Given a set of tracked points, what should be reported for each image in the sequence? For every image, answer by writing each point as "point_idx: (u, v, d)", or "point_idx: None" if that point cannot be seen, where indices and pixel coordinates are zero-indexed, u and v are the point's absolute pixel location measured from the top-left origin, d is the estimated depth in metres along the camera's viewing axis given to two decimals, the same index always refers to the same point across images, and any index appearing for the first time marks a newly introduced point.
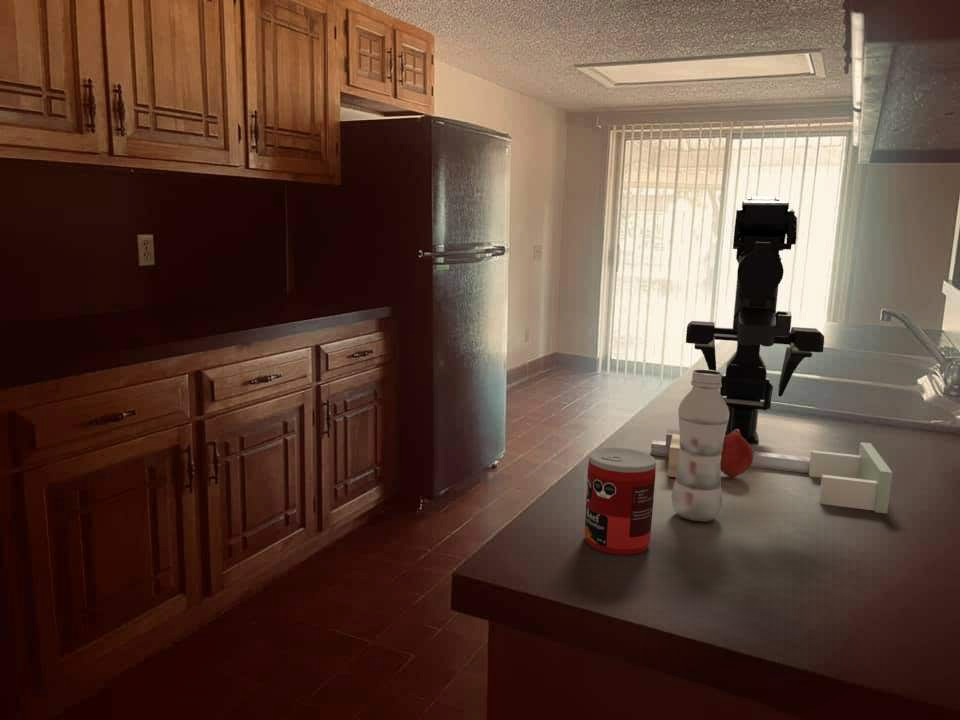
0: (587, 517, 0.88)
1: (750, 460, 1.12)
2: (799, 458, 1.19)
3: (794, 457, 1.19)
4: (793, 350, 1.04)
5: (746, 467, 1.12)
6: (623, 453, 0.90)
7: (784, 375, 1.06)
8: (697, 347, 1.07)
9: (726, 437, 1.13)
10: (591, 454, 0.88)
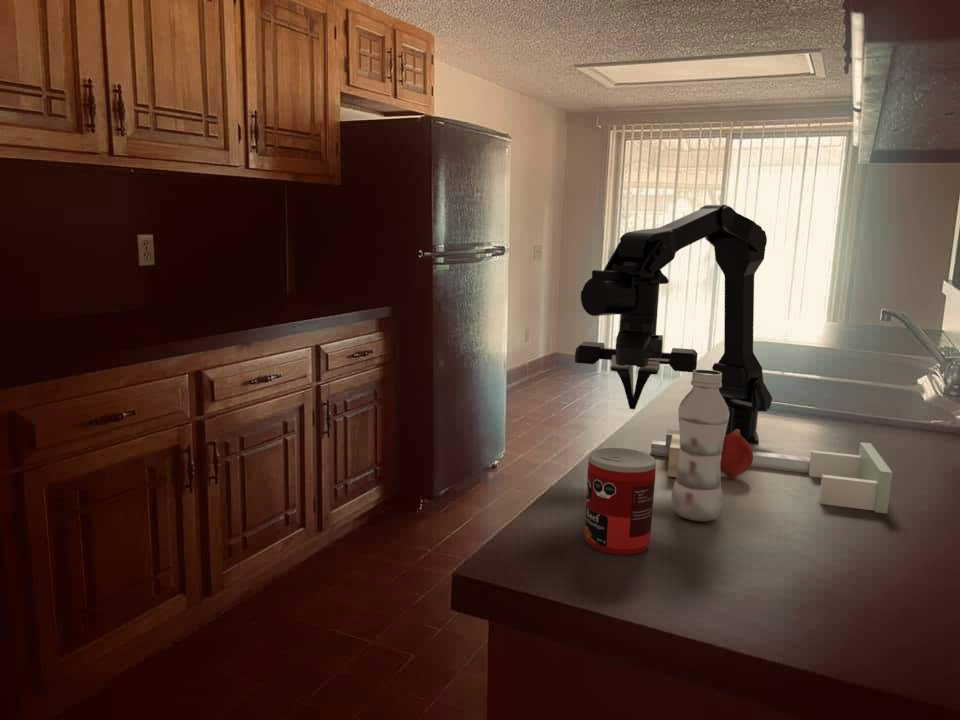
0: (587, 517, 0.88)
1: (750, 460, 1.12)
2: (799, 458, 1.19)
3: (794, 457, 1.19)
4: (642, 367, 1.15)
5: (746, 467, 1.12)
6: (623, 453, 0.90)
7: (635, 390, 1.16)
8: (612, 369, 1.15)
9: (726, 437, 1.13)
10: (591, 454, 0.88)
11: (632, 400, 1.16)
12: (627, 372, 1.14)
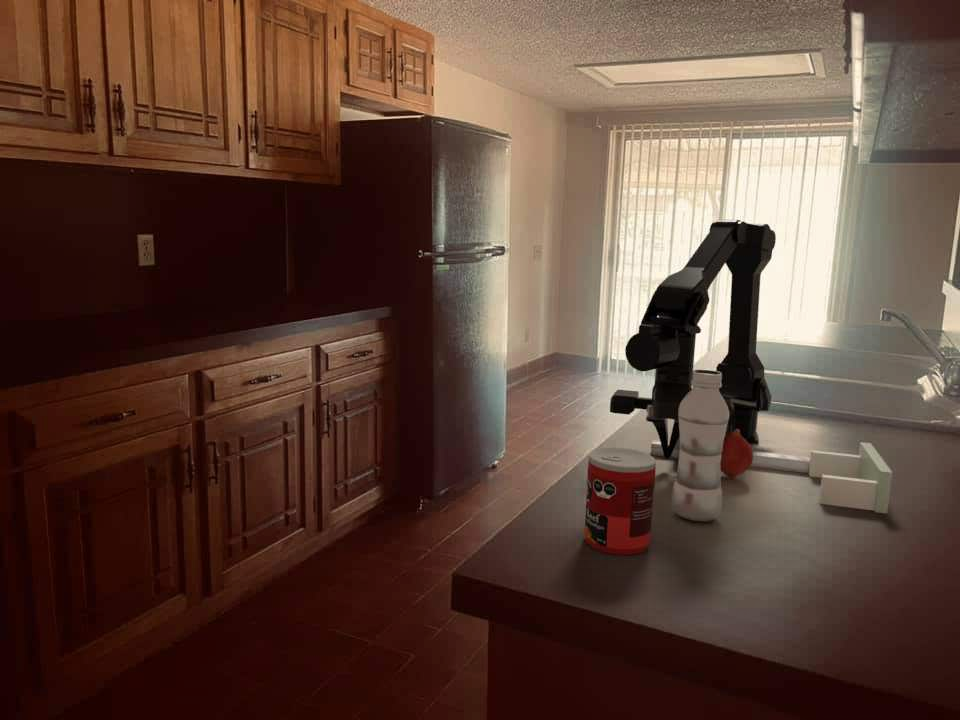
0: (587, 517, 0.88)
1: (750, 460, 1.12)
2: (799, 458, 1.19)
3: (794, 457, 1.19)
4: None
5: (746, 467, 1.12)
6: (623, 453, 0.90)
7: (670, 440, 1.15)
8: (648, 419, 1.14)
9: (726, 437, 1.13)
10: (591, 454, 0.88)
11: (667, 450, 1.16)
12: (663, 423, 1.14)
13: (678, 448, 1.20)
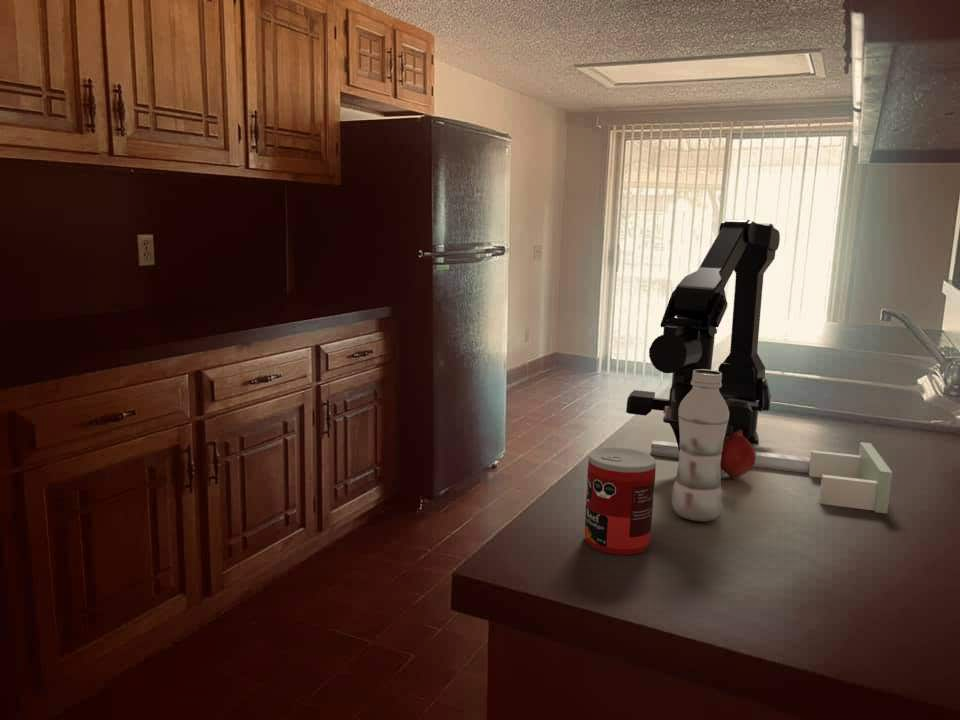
0: (587, 517, 0.88)
1: (752, 460, 1.12)
2: (799, 458, 1.19)
3: (794, 457, 1.19)
4: None
5: (748, 467, 1.12)
6: (623, 453, 0.90)
7: None
8: (665, 421, 1.13)
9: (728, 437, 1.13)
10: (591, 454, 0.88)
11: None
12: None
13: None
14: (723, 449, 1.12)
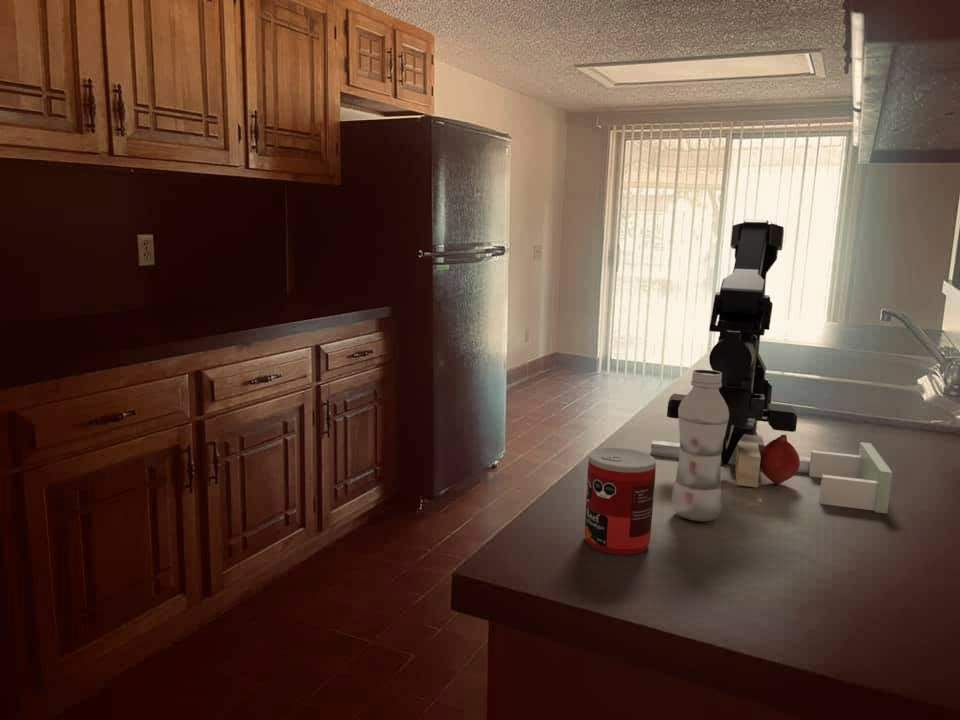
0: (587, 517, 0.88)
1: (795, 467, 1.09)
2: (799, 458, 1.19)
3: None
4: None
5: (791, 474, 1.09)
6: (623, 453, 0.90)
7: (729, 446, 1.13)
8: None
9: (772, 442, 1.11)
10: (591, 454, 0.88)
11: (726, 456, 1.14)
12: None
13: (734, 454, 1.18)
14: (765, 453, 1.10)
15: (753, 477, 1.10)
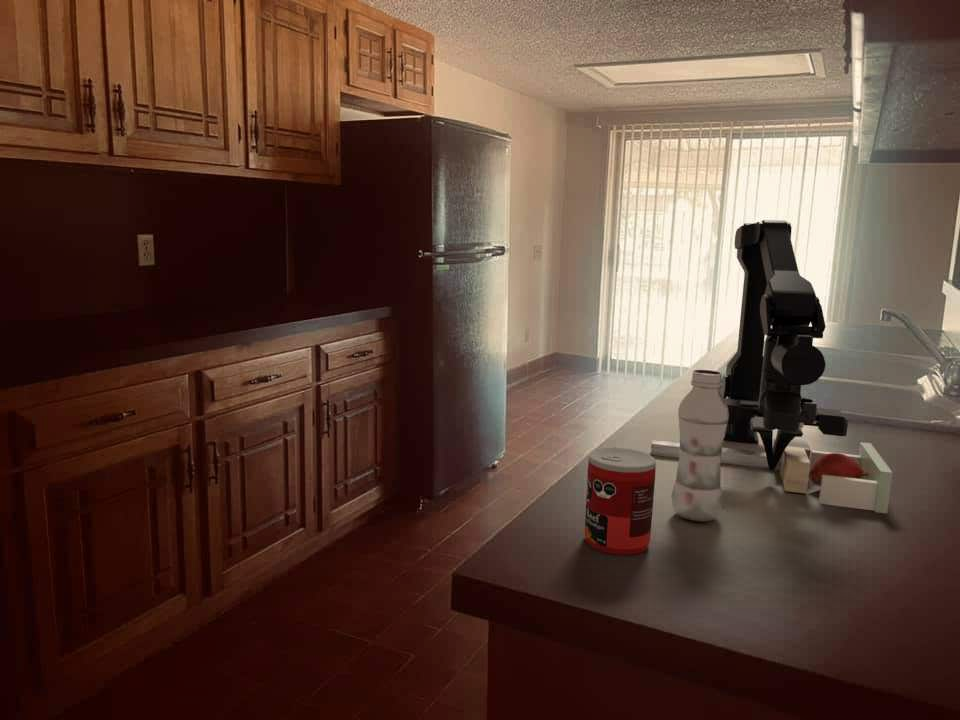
0: (587, 517, 0.88)
1: None
2: None
3: None
4: None
5: None
6: (623, 453, 0.90)
7: (776, 451, 1.11)
8: (755, 430, 1.09)
9: (856, 463, 1.08)
10: (591, 454, 0.88)
11: (773, 462, 1.11)
12: (771, 434, 1.09)
13: None
14: (845, 459, 1.07)
15: (802, 483, 1.08)
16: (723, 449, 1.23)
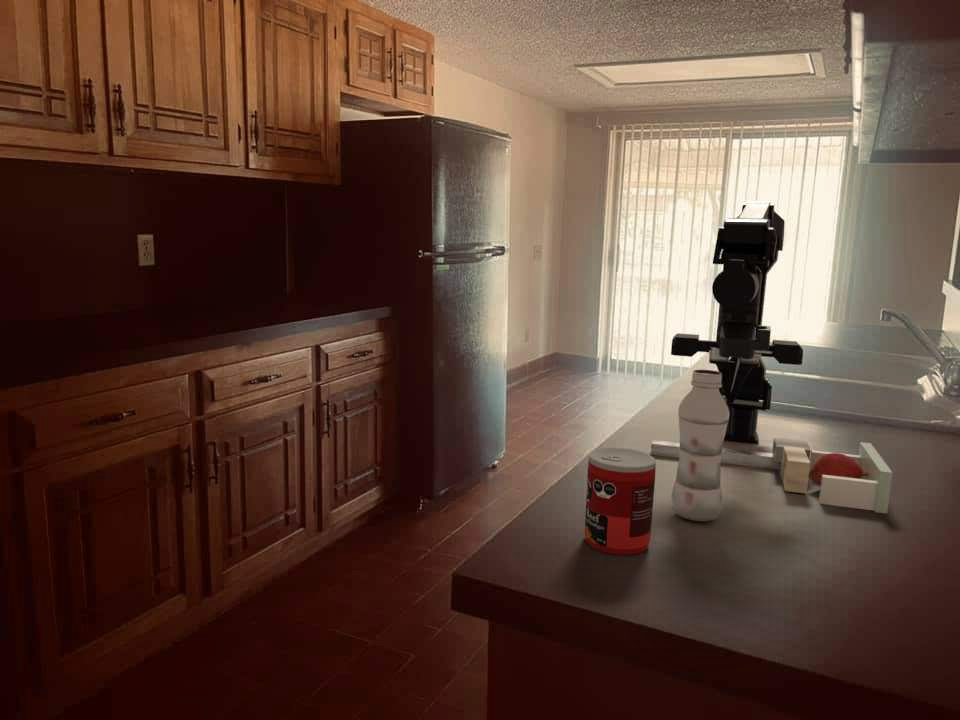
0: (587, 517, 0.88)
1: None
2: None
3: None
4: (742, 360, 1.10)
5: None
6: (623, 453, 0.90)
7: (734, 384, 1.11)
8: (712, 361, 1.10)
9: (856, 463, 1.08)
10: (591, 454, 0.88)
11: (730, 394, 1.12)
12: (727, 365, 1.10)
13: (779, 459, 1.16)
14: (845, 459, 1.07)
15: (802, 483, 1.08)
16: (723, 449, 1.23)
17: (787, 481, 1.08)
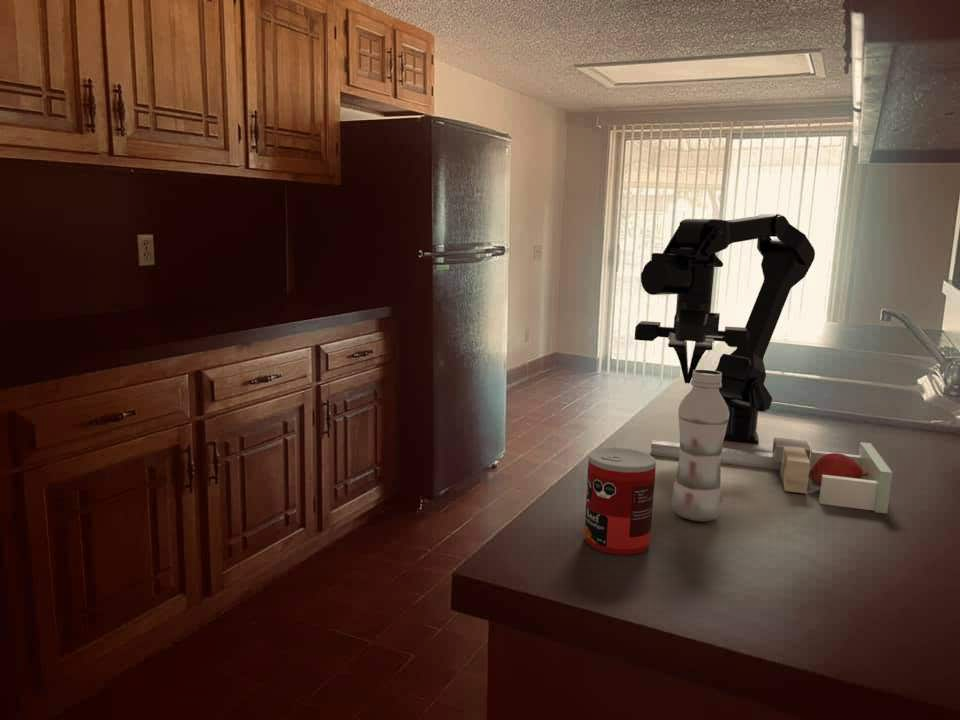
0: (587, 517, 0.88)
1: None
2: None
3: None
4: (697, 344, 1.24)
5: None
6: (623, 453, 0.90)
7: (691, 365, 1.25)
8: (670, 345, 1.24)
9: (856, 463, 1.08)
10: (591, 454, 0.88)
11: (687, 375, 1.26)
12: (684, 348, 1.24)
13: (779, 459, 1.16)
14: (845, 459, 1.07)
15: (802, 483, 1.08)
16: (723, 449, 1.23)
17: (787, 481, 1.08)
